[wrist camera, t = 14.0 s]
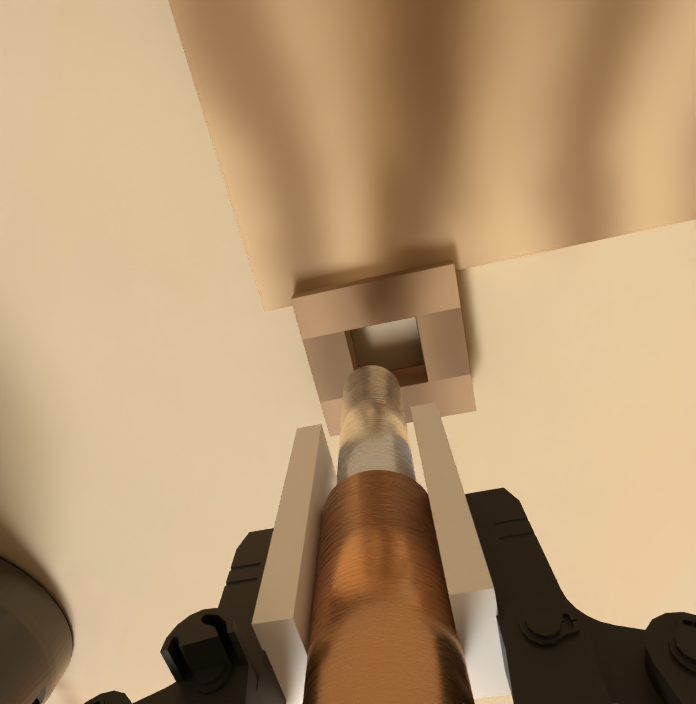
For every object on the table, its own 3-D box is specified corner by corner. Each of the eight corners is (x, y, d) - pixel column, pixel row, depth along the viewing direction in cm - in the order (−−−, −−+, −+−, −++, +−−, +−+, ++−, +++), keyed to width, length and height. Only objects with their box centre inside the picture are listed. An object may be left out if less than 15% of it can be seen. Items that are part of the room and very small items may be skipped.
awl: (344, 428, 19) (319, 885, 7) (328, 366, 18) (264, 775, 6) (413, 415, 19) (509, 868, 7) (400, 351, 18) (484, 750, 6)
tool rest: (333, 415, 25) (329, 436, 23) (297, 287, 22) (290, 299, 20) (468, 391, 24) (476, 410, 22) (447, 254, 21) (454, 263, 19)
